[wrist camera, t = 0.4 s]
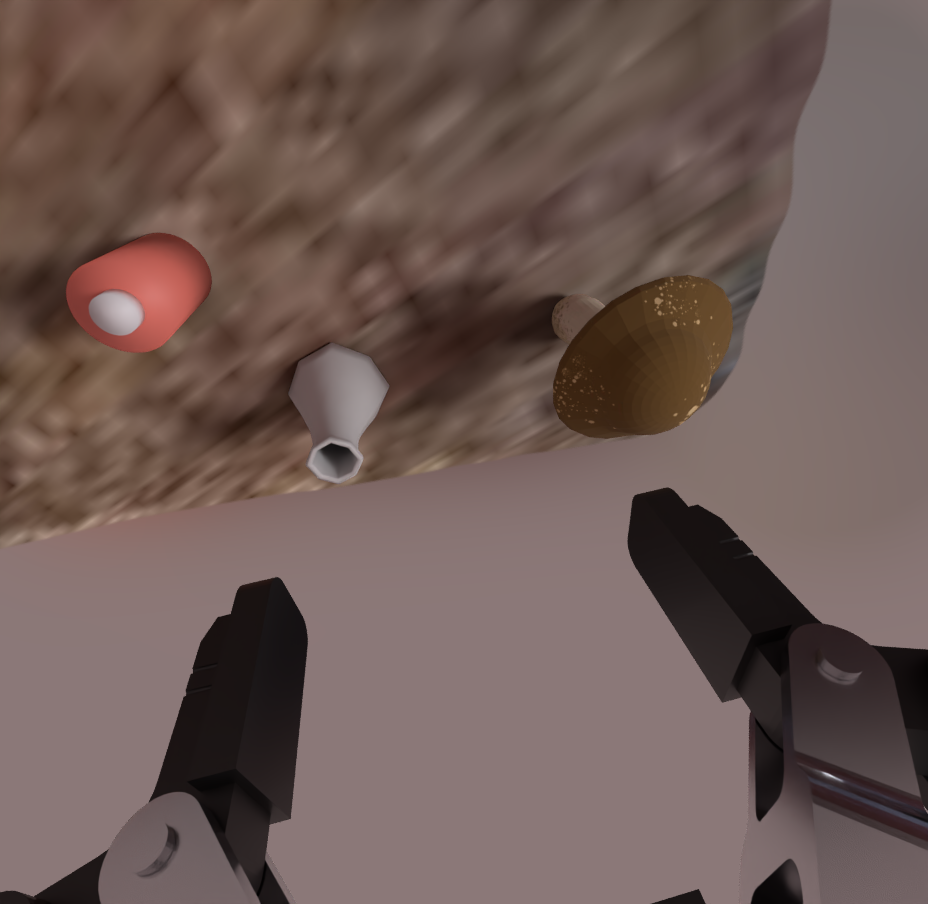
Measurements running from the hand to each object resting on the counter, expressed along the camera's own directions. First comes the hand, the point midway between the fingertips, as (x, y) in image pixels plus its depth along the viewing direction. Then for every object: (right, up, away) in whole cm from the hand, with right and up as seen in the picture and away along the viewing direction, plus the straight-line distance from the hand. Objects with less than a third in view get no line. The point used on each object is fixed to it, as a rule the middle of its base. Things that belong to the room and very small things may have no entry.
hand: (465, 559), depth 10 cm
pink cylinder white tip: (-19, +14, +19) cm, 30 cm away
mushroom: (+8, +14, +25) cm, 30 cm away
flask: (-10, +8, +25) cm, 28 cm away
